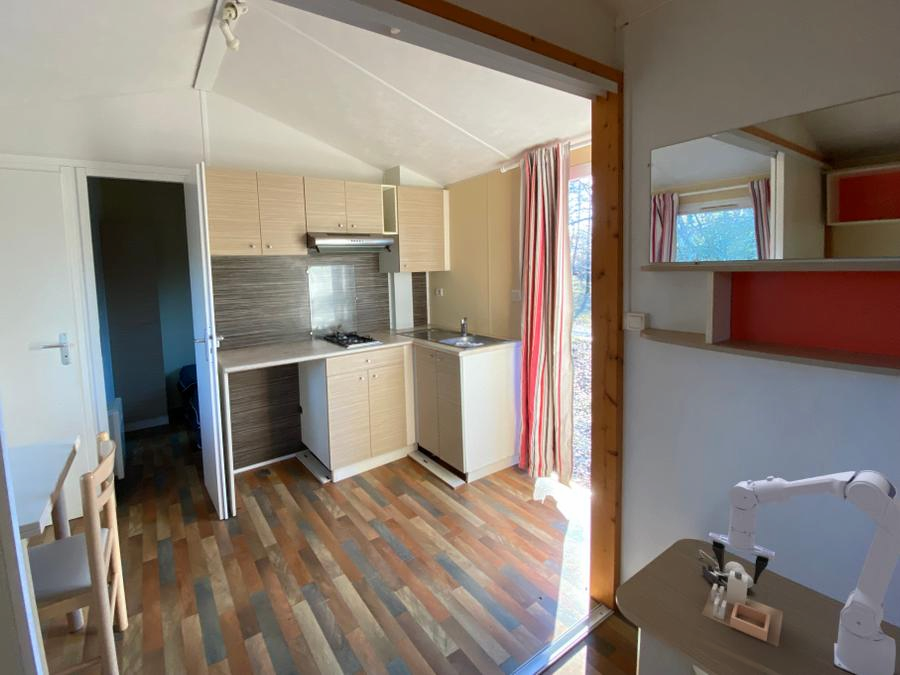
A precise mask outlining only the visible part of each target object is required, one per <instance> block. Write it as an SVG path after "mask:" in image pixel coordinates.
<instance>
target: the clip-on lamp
mask: <svg viewBox="0 0 900 675" xmlns="http://www.w3.org/2000/svg"><path fill="white" fill-rule="evenodd" d="M698 552H699V554H700V556H701V557H702V558H703V559H705V557H704V556H703V554H704V555H705V556H706V557H708V558H709V559H710V560H711V561H713V562H714V563H715V565H717V566H715V569H714V568H713V566H712V565H711V564H707V566H706V565H703V564H702V565H701V567H702V576H703V577H704V578H705V579H706V581H708V582H710V583H711V584H712V585H714V583H715V584H717V587H719V588H720V585H722V586H723V585H724V586H726V587H727V585H728V577H729V574H730V571H733V572H739V573H741V574H742V575H745V576H748V584H747V589H750V588H752V587H753V586H754V583H753V580H754V578H753V577H751V576H750V575H749V574H748V573H747V572H746V570H745V567H744V566H743V565H742V564H740V563H738V562H737V561H733V560H731V561H729V562H727V563H726V564H725V565H724V573H723V572H720V571H719V565H718V561H715V560H717V558H716V555H714V556H712V557H711V556H710V555H708V554H707V553H706V552H704V551H703V549H698ZM716 569H717V570H716Z"/></svg>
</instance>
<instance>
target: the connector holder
mask: <svg viewBox="0 0 900 675" xmlns="http://www.w3.org/2000/svg"><path fill="white" fill-rule="evenodd" d="M738 613H739V614H742V615H744V616H747V617H749V618H752V619H754V620H757V621H759V622H762V623H764V624H765V626H764V629H763V628H761V627H758V626H756V625H753V624H751V623H749V622H746V621H744V620H741V619H739V618H736V617H737V614H738ZM769 624H770V614H767V613H765V612H762V611H759V610H757V609H754V608H752V607H749V606H747V605H744V604H741V603H739V602H735V605H734V609H733V612H732V615H731V622H730V626H731V627H730V628H732V627H733V628H732V629H734V628H735V629H734V630H737V629H738V630H737V631H739V630H740V631H739V632H741V631H742V633H744V632H745V633H744V634H746V633H747V634H746V635H748V634H750V635H749V636H751V635H752V636H751V637H753V636H754V637H753V638H756V637H757V638H756V639H758V638H759V639H758V640H760V639H761V641H763V640H764V641H763V642H765V641H767V635H768V630H769Z"/></svg>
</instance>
